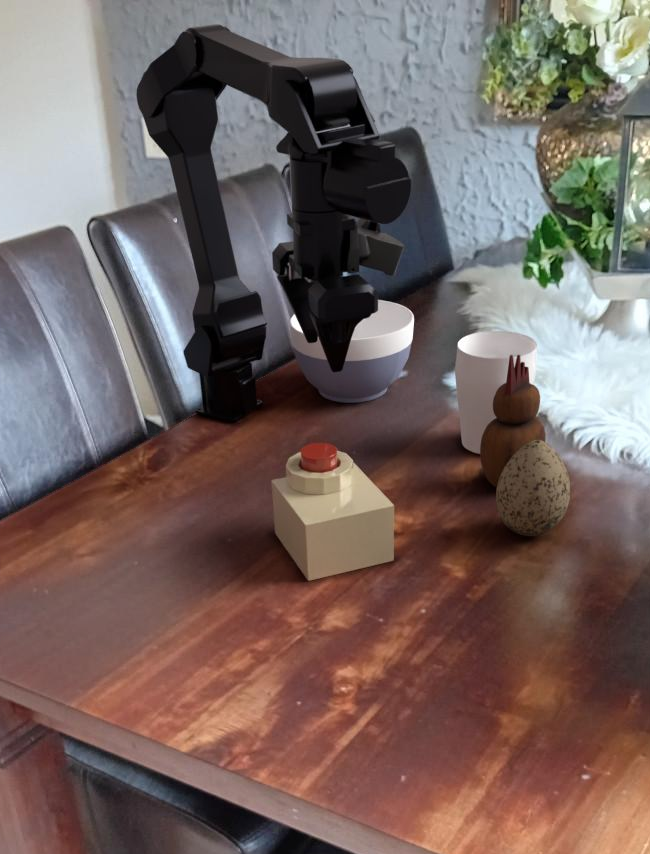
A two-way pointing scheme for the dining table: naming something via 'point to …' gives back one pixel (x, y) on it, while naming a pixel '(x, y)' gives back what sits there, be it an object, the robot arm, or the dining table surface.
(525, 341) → the cup
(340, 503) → the button base
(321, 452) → the red push button
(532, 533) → the decorative egg
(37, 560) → the dining table surface
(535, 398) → the wooden figurine
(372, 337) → the bowl
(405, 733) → the dining table surface
